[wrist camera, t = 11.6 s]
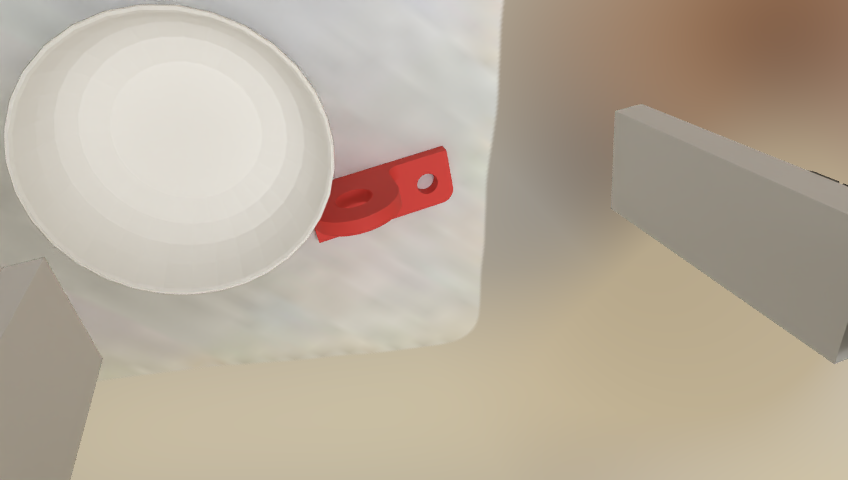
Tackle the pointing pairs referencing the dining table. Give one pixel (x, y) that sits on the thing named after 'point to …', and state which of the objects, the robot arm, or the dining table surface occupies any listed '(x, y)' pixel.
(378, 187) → the bracket
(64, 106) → the bowl
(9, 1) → the dining table surface
